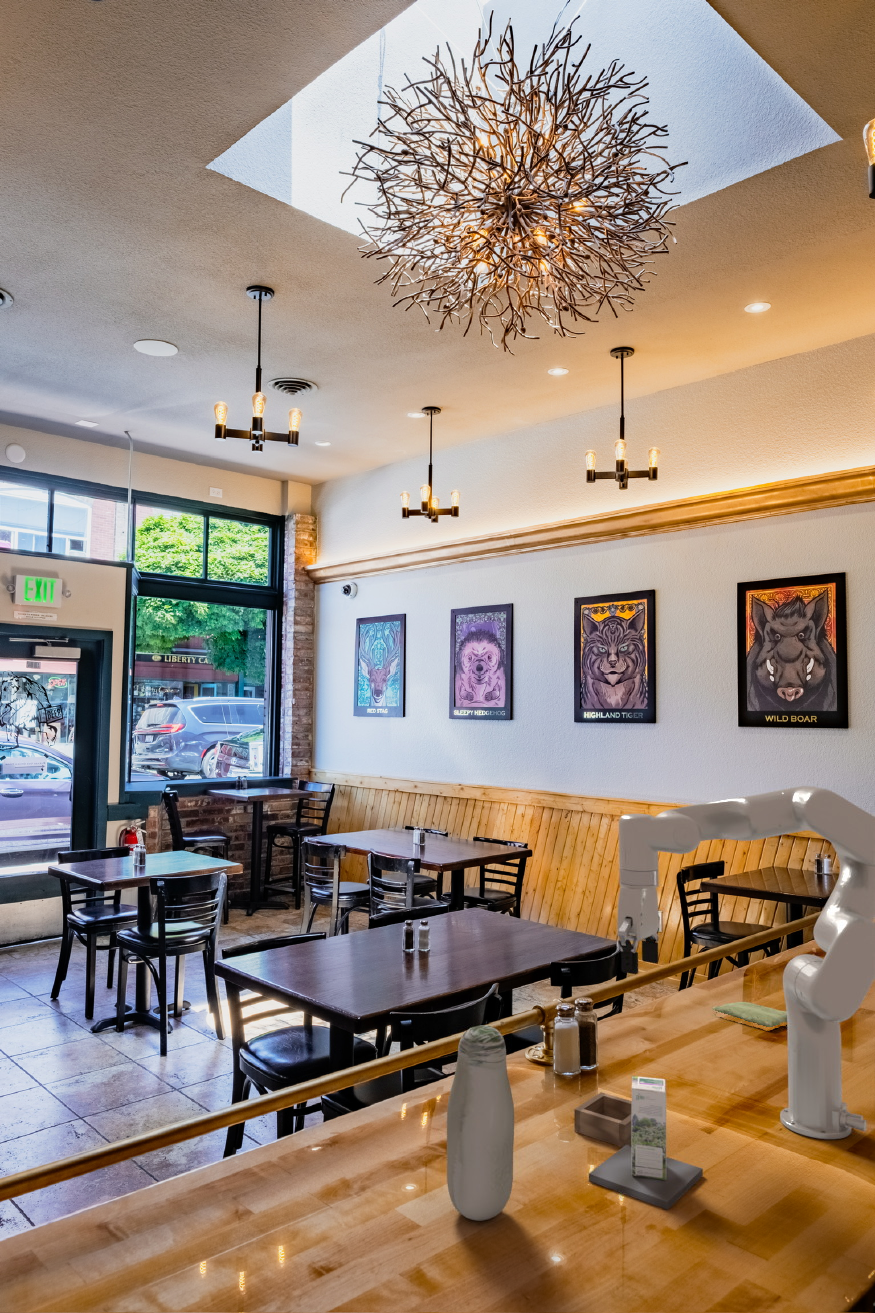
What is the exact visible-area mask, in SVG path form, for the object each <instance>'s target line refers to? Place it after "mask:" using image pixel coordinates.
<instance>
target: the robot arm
mask: <svg viewBox="0 0 875 1313" xmlns="http://www.w3.org/2000/svg"><path fill="white" fill-rule="evenodd" d="M805 831H811V832H813V833H816V834H818V835H819V836H821V837H823V838H824V839H825V840H827V841H828V842H830V843H831V845H832V847H833V849H834V851H835V852H836V854H837V858H838V862H839V875H838V877H837V878H838V879H837V881H836V884H835V885H834V889H833V890H832V892H831V894H830V896H829V898H828V899H827V901H826V903H825V905H824V906H823V909H822V911H821V913H820V914H819V916H818V918H817V920H816V922H815V925H814V926H813V931H812V932H813V939H814V941H815V943H816V944H817V945H818V947H819V948H820V949H821V950H822V951H823V952H825V953H826V954H825V956H824V957H823V958H822V957H820V956H818V955H813V954H808V953H806V954H805V953H804V954H798V955H796V956H794V957H793V958H792V959H790V961H788V963H787V964H786V966H785V968H784V970H783V974H782V987H783V988H782V989H783V994H784V995H783V996H784V1001H785V1011H786V1012H787V1026H786V1027H787V1079H788V1080H787V1081H788V1082H787V1084H788V1085H787V1087H788V1090H787V1091H788V1107H785V1108H783V1109H782V1110H781V1111H780V1114H779V1115H780V1116H779V1118H780V1122H781V1123H782V1125H783V1126H784V1127H785V1128H787V1129H788V1130H790V1131H792V1132H794V1133H797V1134H799V1135H802V1136H805V1137H809V1138H815V1139H822V1140H837V1139H838V1140H839V1139H844V1138H846V1137H848V1136H849V1135H851V1134H852V1128H853V1129H855V1130H859V1131H862V1132H866V1131H867V1126H868V1125H867V1119H864V1117H863V1115H861V1114H856V1113H852V1112H850V1111H849V1110H847V1109H848V1108H847V1107H848V1106H847V1104H848V1103H846V1102H843V1095H842V1093H843V1090H842V1088H843V1087H842V1085H843V1084H842V1082H843V1080H842V1034H841V1024H840V1023H842V1022H844V1021H847V1020H848V1019H850V1018H851V1017H853V1016H854V1014H856V1013H857V1011H858V1009H860V1007H861V1005H862V1004H863V1002H864V1000H865V998H866V996H867V995H868V993H869V991H870V988H871V986H872V985H873V982H874V981H875V921H874V920H875V816H874V815H872V814H871V813H869V812H867V811H866V810H864V809H863V808H861V807H860V806H858V805H855V804H854V803H852V802H850V801H849V800H847V799H846V798H844V797H842V796H841V795H840V794H837V792H834V791H832V790H830V789H826V788H822V787H816V786H810V785H809V786H808V785H805V786H804V785H803V786H796V787H790V788H785V789H780V790H774V791H770V792H765V793H761V794H754V795H749V796H743V797H738V798H737V797H736V798H729V799H724V800H719V801H718V800H717V801H712V802H706V803H699V804H692V805H689V806H688V805H687V806H681V807H677V808H673V809H668V810H664V811H661V812H660V813H658V814H657V815H655V816H654V815H651V814H647V813H646V814H645V813H628V814H627V813H625V814H623V815H621V816H620V817H619V820H618V866H619V867H618V870H619V871H618V873H619V886H620V887H619V894H618V901H617V922H616V931H617V932H616V933H617V934H616V935H617V937H618V939H619V940H618V943H619V949H620V950H619V951H620V954H621V956H620V957H621V958H620V961H621V967H620V969H621V972H623V973H625V974H630V975H631V974H632V975H638V974H639V952H638V951H637V949H638V945H639V942H640V941H641V960H642V961H643V962H645V963H650V964H651V963H652V964H657V963H659V940H660V939H659V935H658V934H659V931H660V928H659V926H660V925H659V924H660V919H661V918H660V916H659V915H660V914H659V901H658V900H659V899H658V898H659V897H658V890H657V889H658V888H659V886H660V884H659V883H660V881H659V880H660V879H659V878H660V877H659V874H660V873H659V852H663V853H669V854H670V853H671V854H677V855H685V854H690V853H692V852H693V851H695V850H696V849H697V848H698V847H699V845H700V844H701V842H704V841H712V840H732V841H740V842H742V841H743V842H744V841H745V842H746V841H759V840H762V839H768V838H771V837H777V836H783V835H788V834H793V833H800V832H805Z"/></svg>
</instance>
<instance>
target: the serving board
mask: <svg viewBox="0 0 875 1313" xmlns="http://www.w3.org/2000/svg"><path fill="white" fill-rule="evenodd" d="M703 1171H704V1169H703V1167H700V1166H696V1165H693V1164H689V1163H687V1162H684V1161H681V1160H678V1159H675V1158H671V1157H668V1156H666V1180H661V1179H653V1178H645V1177H638V1176H632V1144H630V1145H629V1144H626V1145H625V1146H624V1147H621V1148H620V1149H619V1150H617V1151H616V1152H615V1153H614V1154H613V1155H611V1156H610V1157H608V1158H607V1159H606V1160H604V1161H603V1162H602V1163H600V1164H599V1165H598V1166H597V1167H595V1168H594V1169H593V1170H591V1171H590V1172H589V1173H588V1182H590V1183H592V1184H593V1183H594V1184H596V1185H599V1186H602V1187H604V1188H607V1189H609V1190H612V1191H615V1192H618V1193H621V1194H623V1195H626V1196H629V1197H631V1198H635V1199H637V1200H639V1201H643V1202H645V1203H648V1204H651V1205H654V1206H657V1207H659V1208H662V1209H664V1210H669V1209H670V1208H672V1207H673V1205H675V1204H676V1203H677V1201H679V1200H680V1199H681V1198H682V1197H683V1196H685V1194H686V1193H687V1192H688V1191H689V1190H690V1189H691V1188H692V1187H693V1186H694V1185H696V1183H697V1182H698V1181H699V1180H701V1178H702V1177H703V1175H704V1174H703Z"/></svg>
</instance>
